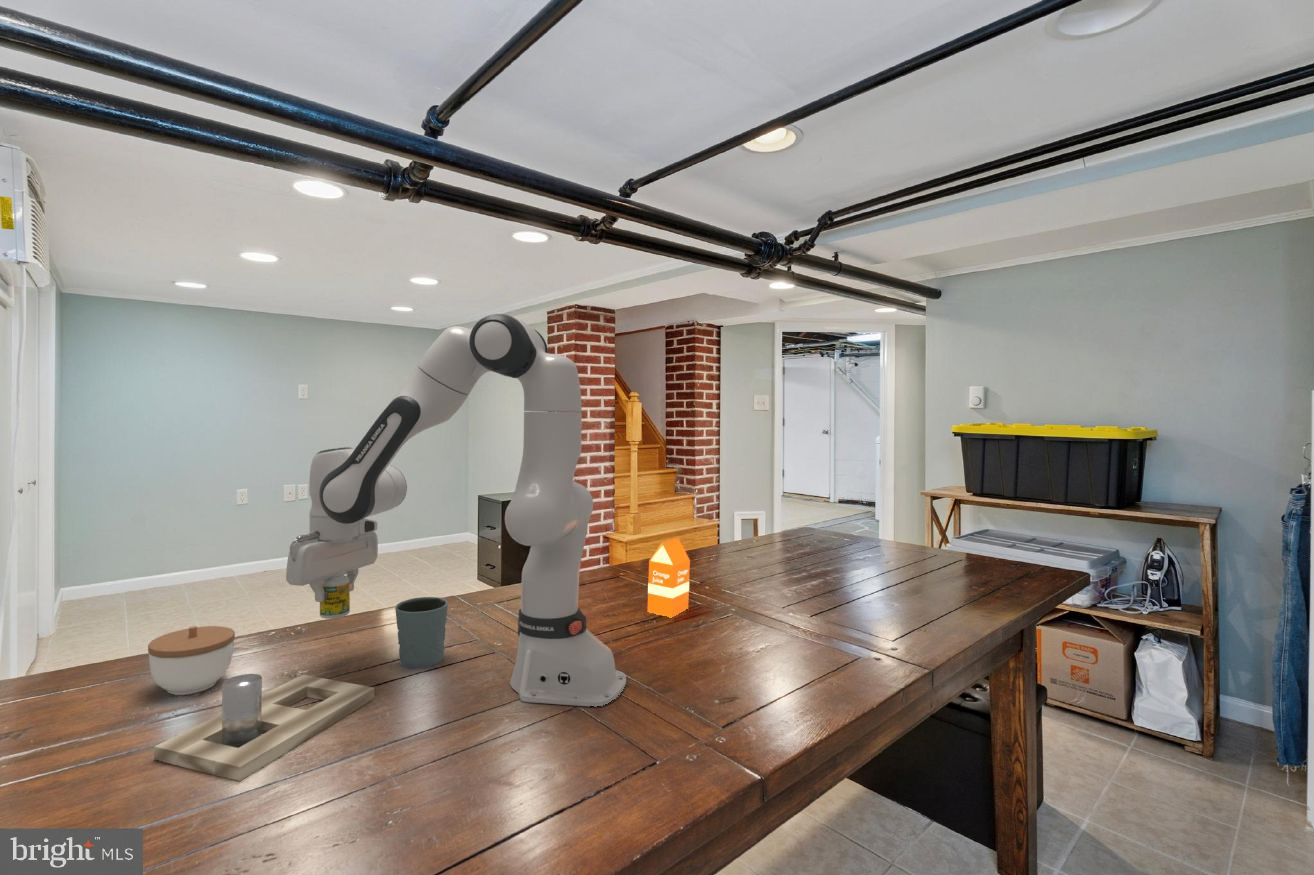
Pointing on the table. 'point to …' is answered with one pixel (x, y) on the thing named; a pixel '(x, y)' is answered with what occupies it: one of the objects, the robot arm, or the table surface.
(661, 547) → the orange juice
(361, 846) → the table surface
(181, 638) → the lidded bowl
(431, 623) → the blue-grey cup
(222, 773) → the pin board
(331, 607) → the supplement bottle
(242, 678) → the steel pin
